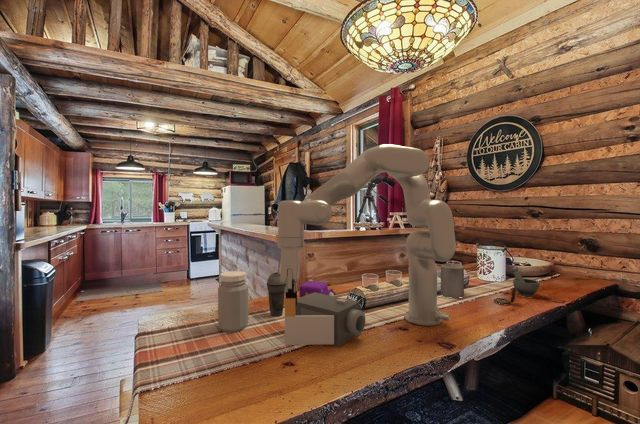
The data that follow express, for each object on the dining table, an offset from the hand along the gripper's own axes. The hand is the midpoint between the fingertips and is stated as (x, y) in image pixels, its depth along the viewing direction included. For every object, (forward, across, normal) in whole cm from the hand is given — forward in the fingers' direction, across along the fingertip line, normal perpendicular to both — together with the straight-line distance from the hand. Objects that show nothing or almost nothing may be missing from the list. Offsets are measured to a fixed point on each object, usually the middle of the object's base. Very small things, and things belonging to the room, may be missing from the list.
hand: (291, 305), depth 88 cm
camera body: (+11, -7, +11) cm, 17 cm away
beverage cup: (+12, -24, -8) cm, 28 cm away
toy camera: (+12, -32, +8) cm, 35 cm away
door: (+10, +2, +5) cm, 12 cm away
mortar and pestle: (+12, -48, +101) cm, 112 cm away
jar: (+12, -12, -20) cm, 27 cm away
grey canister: (+12, -48, +68) cm, 84 cm away
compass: (+12, -36, +85) cm, 93 cm away
